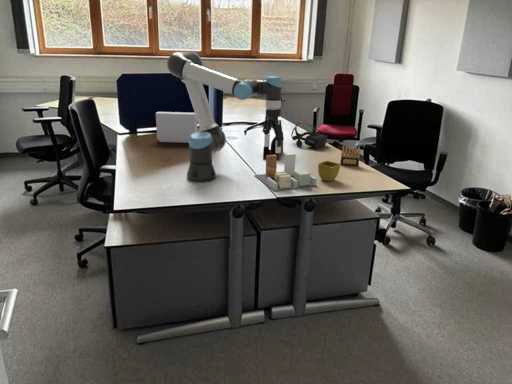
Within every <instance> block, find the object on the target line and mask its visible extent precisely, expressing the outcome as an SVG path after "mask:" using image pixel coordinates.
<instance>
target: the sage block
mask: <svg viewBox="0 0 512 384" xmlns="http://www.w3.org/2000/svg"><path fill="white" fill-rule="evenodd" d="M296 155H297V154H296V153H294V152H290V153H289V152H288V153H284V168H283V169H284V170H283V172H284V173H285V172H286V173H287V174H289V175H290V176H291V177H292V178H294V179H295V180H297V181H298V184H297V185H298V186H305V185H310V175H312V174H311V172H308V171H307V170H305V169H301V170H296Z"/></svg>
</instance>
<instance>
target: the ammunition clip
mask: <svg viewBox="0 0 512 384" xmlns="http://www.w3.org/2000/svg"><path fill="white" fill-rule="evenodd" d="M360 149H361V148H360V146H358V148H357V146H355V147H354V146H353V145H352V147H351V145H349V147H348V145H346V146H345V145H342V148H341V153H340V163H339V164H341V165H340V166H344V167H346V166H347V167H357V168H358V167H359V164H360V155H361V154H360V153H361V152H360V151H361V150H360Z"/></svg>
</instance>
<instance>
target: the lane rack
mask: <svg viewBox="0 0 512 384" xmlns="http://www.w3.org/2000/svg"><path fill="white" fill-rule="evenodd" d="M276 173H284V171H280V172H279V171H276ZM254 177H255V178H256V179H257V180H259V181H260V182H261V183H263V185H265V186H266V187H267V188H269V189H270V190H271V191H272V192H282V191H283V192H284V191H289V190H296V189H304V188H311V187H317V186H318V184H317V179H318V178H317V177H315V176H313V175H312V174H311V175H310V185H305V186H298V185H297V184H298V181H297V180H295V179H294V178H292V177H291V187H290V188H282V189H279V188H278V183H276V182H275V180H273V179H272V178H270V177H267V178H266V173H260V174H254ZM274 179H275V178H274Z"/></svg>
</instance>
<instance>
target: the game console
mask: <svg viewBox="0 0 512 384" xmlns="http://www.w3.org/2000/svg"><path fill="white" fill-rule="evenodd" d="M155 122H156V124H155V125H156V126H155V127H156V138H157V140H158V141H159V142H160V143H185V144H186V143H187V144H189V137H190V135H192V134H193V133H196V132H197V133H198V130H199V128H198V121H197V118H196V115H195V112H183V111H182V112H181V111H180V112H179V111H174V112H173V111H157V112H155Z"/></svg>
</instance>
